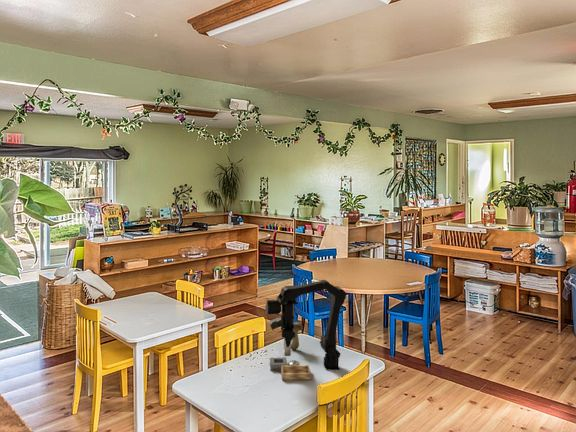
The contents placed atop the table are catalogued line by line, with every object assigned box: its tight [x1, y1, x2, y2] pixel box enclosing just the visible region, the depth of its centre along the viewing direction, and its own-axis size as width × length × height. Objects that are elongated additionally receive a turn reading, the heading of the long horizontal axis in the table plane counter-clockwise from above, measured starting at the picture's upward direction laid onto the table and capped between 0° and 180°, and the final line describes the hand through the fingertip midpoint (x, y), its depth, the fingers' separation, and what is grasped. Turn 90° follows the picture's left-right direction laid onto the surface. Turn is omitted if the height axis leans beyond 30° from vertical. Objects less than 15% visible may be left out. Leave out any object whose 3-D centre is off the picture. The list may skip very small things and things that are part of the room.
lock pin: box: [283, 338, 292, 357], centre depth 210 cm, size 4×4×10 cm
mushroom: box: [291, 322, 304, 351], centre depth 236 cm, size 9×9×15 cm
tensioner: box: [269, 357, 300, 372], centre depth 215 cm, size 14×8×3 cm, turn 95°
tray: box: [280, 364, 312, 382], centre depth 206 cm, size 13×9×3 cm
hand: (287, 345), depth 210 cm, fingers closed on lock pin, 3 cm apart
